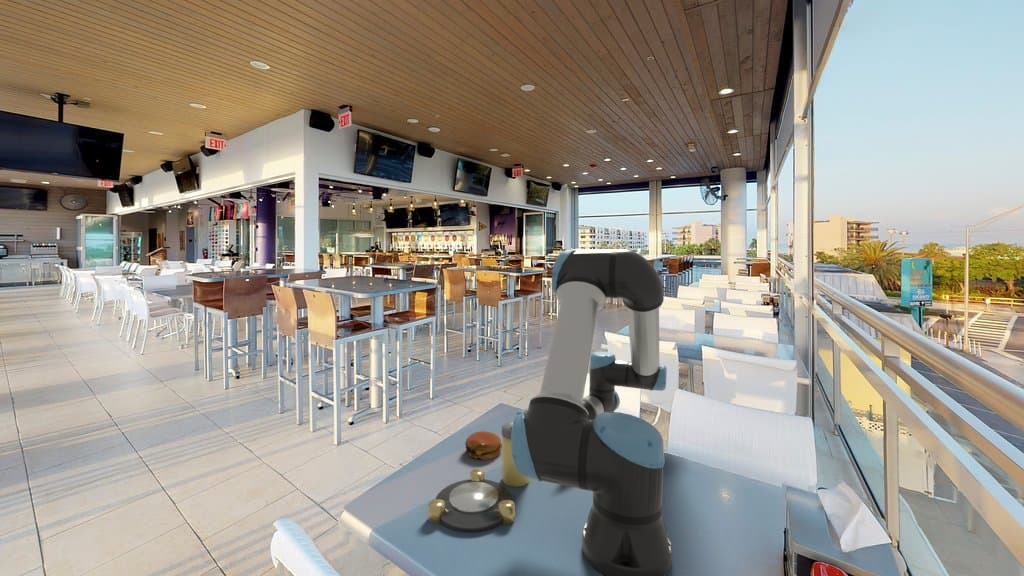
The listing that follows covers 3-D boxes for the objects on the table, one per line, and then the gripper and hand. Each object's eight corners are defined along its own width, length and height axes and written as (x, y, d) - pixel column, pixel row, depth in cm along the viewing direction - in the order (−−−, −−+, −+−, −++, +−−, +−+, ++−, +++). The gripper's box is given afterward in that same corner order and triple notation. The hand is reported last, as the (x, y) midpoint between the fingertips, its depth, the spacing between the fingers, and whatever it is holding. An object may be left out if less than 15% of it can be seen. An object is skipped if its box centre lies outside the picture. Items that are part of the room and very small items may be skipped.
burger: (493, 441, 116) (493, 425, 116) (507, 456, 108) (507, 439, 108) (460, 448, 112) (459, 432, 112) (471, 464, 104) (471, 446, 103)
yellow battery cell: (536, 482, 95) (536, 426, 94) (510, 490, 92) (510, 432, 91) (521, 469, 101) (521, 416, 100) (496, 476, 98) (496, 421, 97)
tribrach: (528, 517, 82) (528, 502, 82) (444, 547, 74) (443, 531, 74) (490, 477, 97) (490, 465, 97) (416, 498, 89) (416, 485, 88)
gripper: (625, 437, 111) (583, 468, 95) (549, 414, 128) (503, 437, 112) (625, 410, 111) (584, 436, 95) (549, 390, 127) (503, 410, 111)
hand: (540, 436), depth 103 cm, fingers open, 13 cm apart
